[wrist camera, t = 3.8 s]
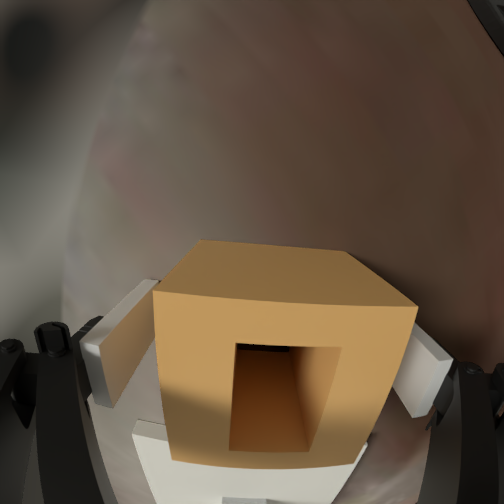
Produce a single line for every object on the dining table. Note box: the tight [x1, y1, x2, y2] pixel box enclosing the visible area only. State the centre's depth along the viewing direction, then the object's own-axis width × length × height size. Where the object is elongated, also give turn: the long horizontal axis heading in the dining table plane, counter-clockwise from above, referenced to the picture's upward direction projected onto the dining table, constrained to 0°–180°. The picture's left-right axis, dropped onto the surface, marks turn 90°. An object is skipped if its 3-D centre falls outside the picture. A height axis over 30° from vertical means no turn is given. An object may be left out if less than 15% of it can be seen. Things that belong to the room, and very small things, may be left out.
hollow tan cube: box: [153, 239, 418, 469], centre depth 11 cm, size 7×7×7 cm
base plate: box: [132, 420, 368, 504], centre depth 17 cm, size 16×17×2 cm
